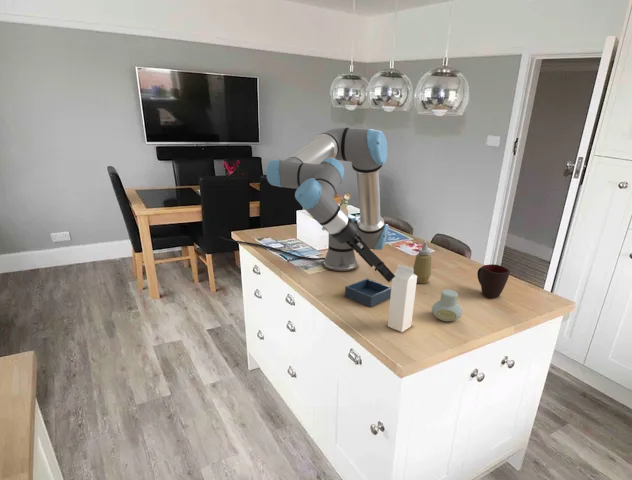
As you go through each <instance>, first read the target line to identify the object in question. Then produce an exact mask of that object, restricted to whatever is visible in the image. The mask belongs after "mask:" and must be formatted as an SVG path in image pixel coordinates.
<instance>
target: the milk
mask: <svg viewBox="0 0 632 480" xmlns="http://www.w3.org/2000/svg"><path fill="white" fill-rule="evenodd" d="M413 268H414V267H410V266H406V265H403V264H398V265H397V269H396V270H395V272H394V273H393V274H394V275H395V277H394V278H393V279H392V280H391V286H390V287H391V296H390V298H389V306H388V307H389V308H388V318H387V327H388V328H391V329H393V330H395V331H398V332H400V333H403V332H405V331H406V330H407V329H409V328H411V327H412V322H413V315H414V307H415V297H416V290H417V289H416V288H417V275H415V274H414V273H413V272H414V269H413Z"/></svg>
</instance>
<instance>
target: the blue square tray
mask: <svg viewBox="0 0 632 480" xmlns="http://www.w3.org/2000/svg"><path fill="white" fill-rule="evenodd" d="M344 290H345V291H344V297H345V298H348V299H350V300H353V301H355V302H357V303H360V304H362V305H364V306H367V307H369V308H372V307H375V306H376V305H379V304H380V303H383V302H385V301H387V300H390V296H391V286H389V285H386V284H383V283H381V282H378V281H375V280H373V279H369V278H364V279H362V280H359V281H357V282H354V283H352V284H348V285H347V286H345V287H344Z"/></svg>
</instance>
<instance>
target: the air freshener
mask: <svg viewBox="0 0 632 480" xmlns="http://www.w3.org/2000/svg"><path fill="white" fill-rule="evenodd" d="M458 297H459V294H458V292H457V291H455V290H452V289H443V290H442V291H441V293H440V300H438V301H436V302H434V303H433V305H432V306H431V312H432V314H433V315H434V317H436V318H437V319H439V320H441V321H443V322H455V321H457V320H458V319H460V318H461V317H462V315H463V309H462V308H463V307H462V306H461V305H460V304H459V303H458Z"/></svg>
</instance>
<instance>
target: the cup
mask: <svg viewBox="0 0 632 480" xmlns="http://www.w3.org/2000/svg"><path fill="white" fill-rule="evenodd" d="M510 274H511V271H510V269H508V268H507V267H504V266H502V265H500V264H484V265H482V266H481V267H479V268H478V269H477V273H476V275H477V280H478V283H479V285H480V288H481V294H482V295H483V296H484V297H485V298H487V299H498V298H500V295H501V294H502V293H503V291H504V289H505V288H506V287H505V286H506V284H507V282H508V280H509V277H510Z"/></svg>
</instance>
